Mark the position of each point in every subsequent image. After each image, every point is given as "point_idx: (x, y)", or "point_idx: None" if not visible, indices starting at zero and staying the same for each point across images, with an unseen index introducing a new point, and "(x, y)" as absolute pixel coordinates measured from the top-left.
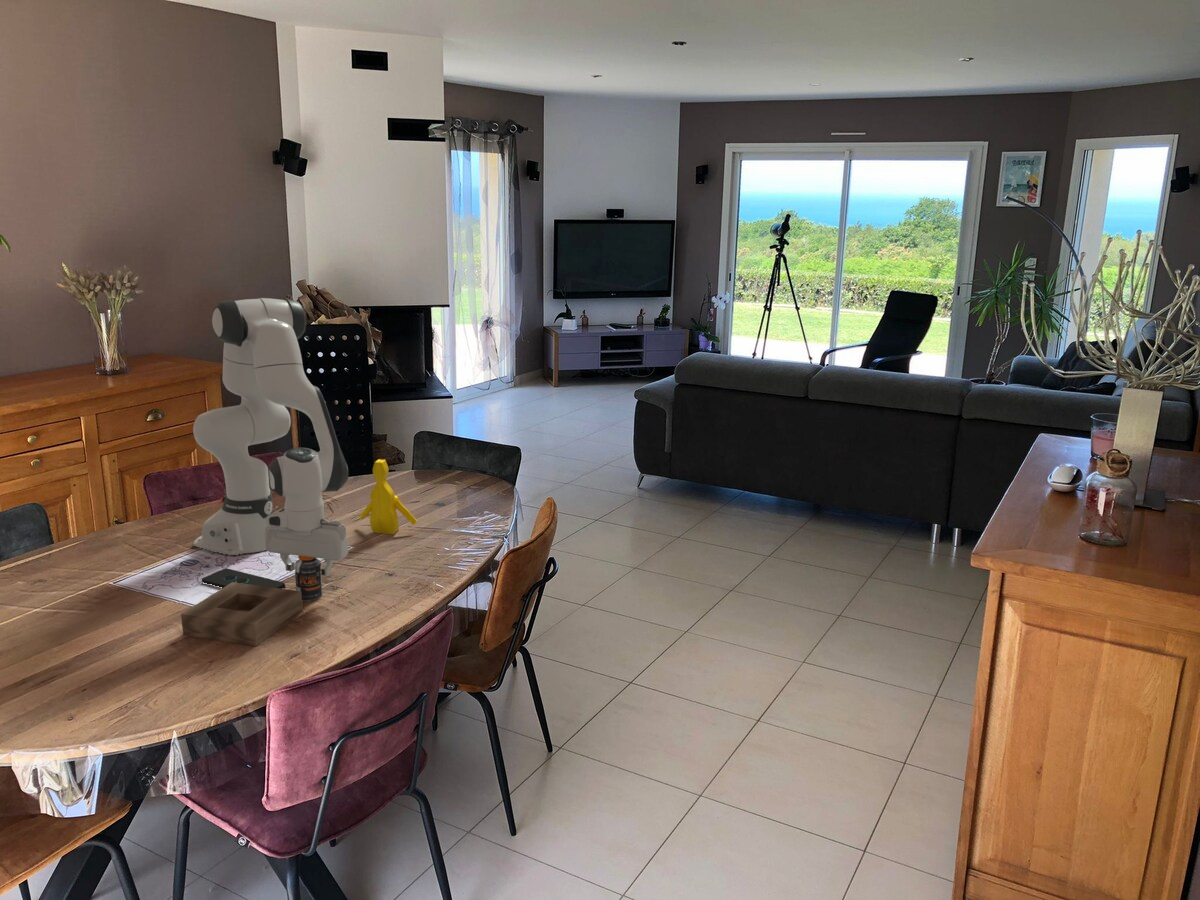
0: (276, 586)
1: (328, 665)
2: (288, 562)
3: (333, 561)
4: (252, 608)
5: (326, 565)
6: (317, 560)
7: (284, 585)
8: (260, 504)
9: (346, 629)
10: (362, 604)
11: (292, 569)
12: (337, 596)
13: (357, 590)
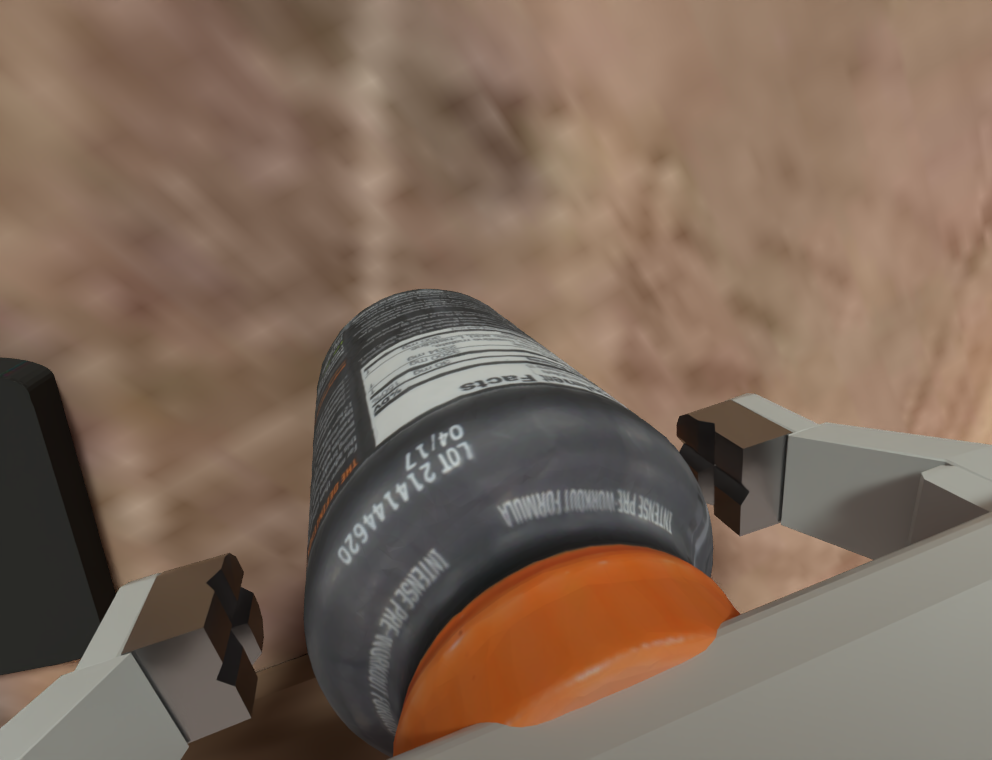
0: (29, 482)
1: None
2: (154, 738)
3: (966, 458)
4: None
5: (870, 551)
6: (686, 531)
7: (38, 385)
8: None
9: (849, 554)
10: (824, 295)
11: (249, 608)
12: (618, 275)
13: (699, 89)
